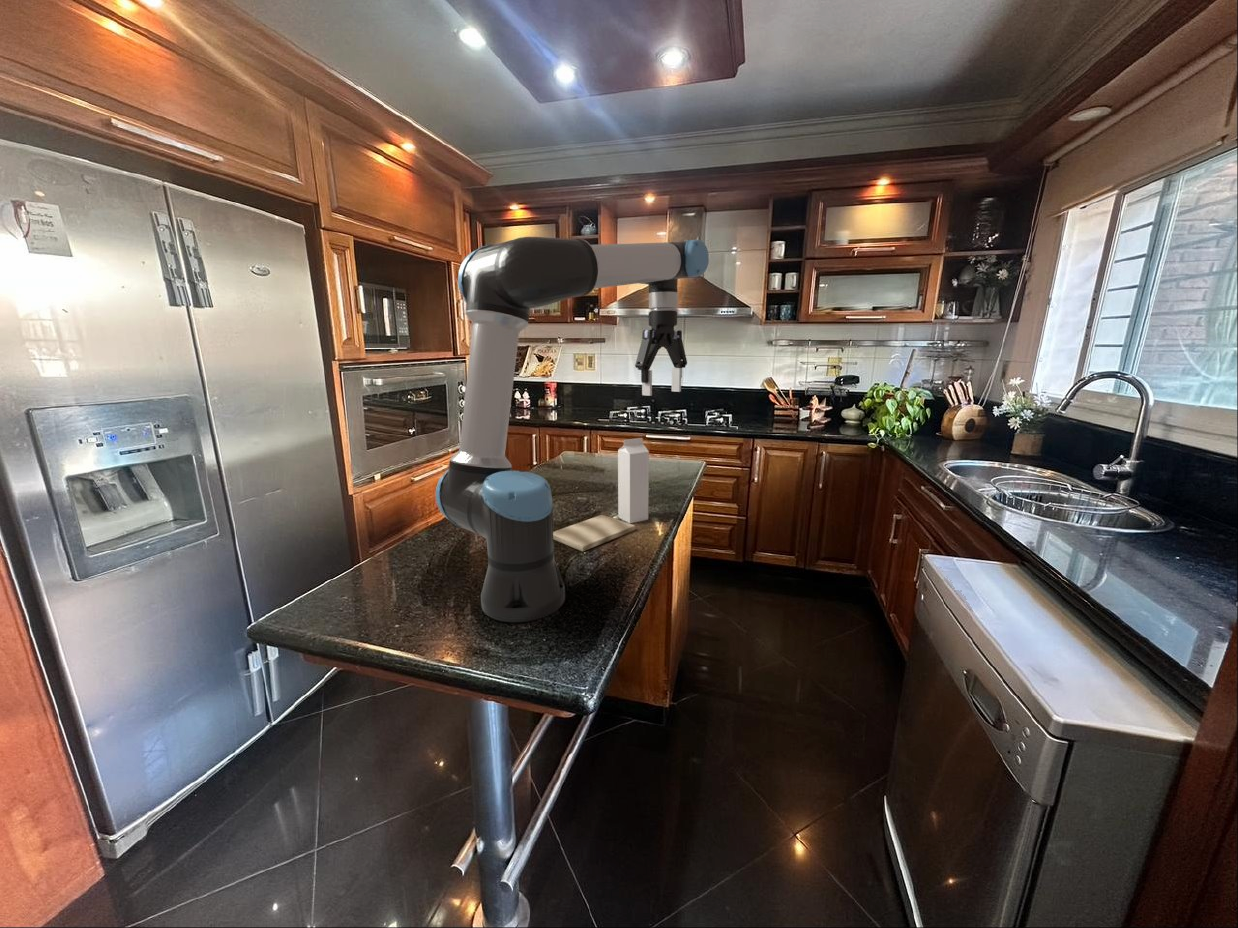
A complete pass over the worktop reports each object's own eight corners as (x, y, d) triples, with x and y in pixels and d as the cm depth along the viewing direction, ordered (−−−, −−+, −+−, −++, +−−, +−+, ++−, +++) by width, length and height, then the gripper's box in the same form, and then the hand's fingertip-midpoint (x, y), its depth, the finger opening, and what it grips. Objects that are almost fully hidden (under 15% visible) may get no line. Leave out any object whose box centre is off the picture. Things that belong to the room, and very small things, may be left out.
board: (582, 551, 109) (582, 546, 109) (549, 537, 117) (549, 533, 117) (635, 529, 122) (635, 525, 122) (601, 518, 130) (601, 514, 130)
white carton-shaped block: (618, 517, 131) (617, 438, 126) (636, 513, 134) (636, 435, 129) (630, 523, 126) (629, 441, 121) (649, 519, 129) (649, 439, 124)
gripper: (679, 312, 136) (677, 389, 141) (620, 309, 119) (621, 396, 124) (701, 311, 131) (698, 390, 136) (643, 307, 114) (643, 398, 119)
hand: (662, 393), depth 130 cm, fingers open, 12 cm apart
